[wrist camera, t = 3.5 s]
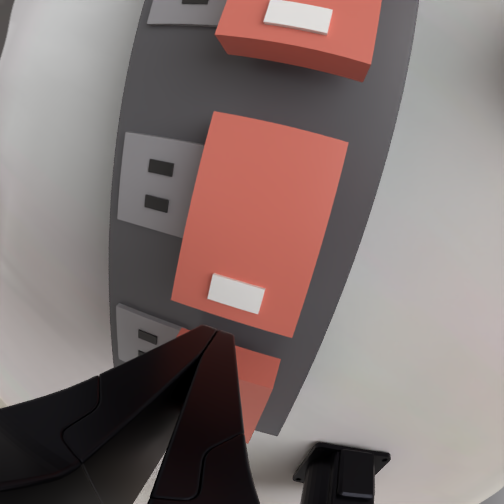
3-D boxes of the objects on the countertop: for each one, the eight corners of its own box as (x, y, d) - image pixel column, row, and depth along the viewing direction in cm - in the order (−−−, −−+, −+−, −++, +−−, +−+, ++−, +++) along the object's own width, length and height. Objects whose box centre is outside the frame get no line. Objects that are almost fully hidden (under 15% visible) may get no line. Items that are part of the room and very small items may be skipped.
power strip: (287, 388, 20) (275, 444, 15) (144, 340, 21) (109, 383, 17) (411, -126, 6) (422, -166, 1) (248, -148, 7) (228, -187, 3)
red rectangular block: (255, 421, 15) (247, 446, 14) (182, 397, 16) (171, 420, 15) (280, 359, 12) (271, 392, 11) (181, 327, 12) (165, 356, 11)
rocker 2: (294, 321, 11) (291, 340, 10) (186, 288, 12) (169, 301, 10) (343, 149, 10) (349, 141, 8) (225, 120, 10) (212, 109, 9)
